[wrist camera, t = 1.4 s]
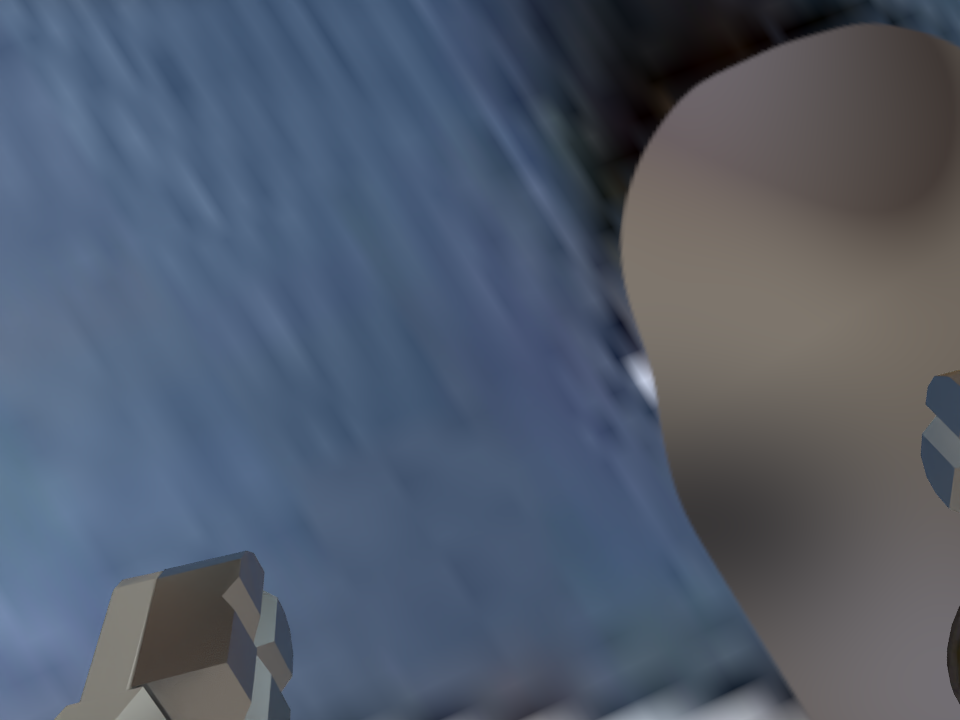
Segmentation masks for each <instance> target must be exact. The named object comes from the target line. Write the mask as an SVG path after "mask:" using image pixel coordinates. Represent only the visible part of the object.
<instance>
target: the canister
mask: <svg viewBox="0 0 960 720" xmlns="http://www.w3.org/2000/svg"><path fill="white" fill-rule="evenodd" d="M947 666H948V672H949V677H950V683H951V686H952V689H953V692H954V695H955V696H956V698H957V700H958V702H959V704H960V607H959V609H958V611H957V614H956V616H955V619H954V621H953V624H952V627H951V632H950V637H949V642H948V648H947Z"/></svg>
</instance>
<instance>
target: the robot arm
mask: <svg viewBox="0 0 960 720" xmlns="http://www.w3.org/2000/svg"><path fill="white" fill-rule="evenodd" d="M926 405H927V406H928V407H929V408H930V409H931V410H932V411H933V412H934V413H935V414H936V417H935V418H934V420H933V421H932V422H931V423H930V425H929V426H928V427H927V428H926V430H925V431H924V432H923V434H922V446H921V458H922V461H923V465H924V469H925V472H926V476H927V478H928V480H929V482H930V483H931V486H932V487H933V489H934V491H935V493H936V494H937V495H938V496H939V498H940V499H941V500H942V501H943V502H944V503H945V504H946V506H947V507H948V508H949V509H951V510H953V511H956V512H958V513H960V370H956V371H952V372H948V373H944V374H941V375H937V376H934V378H933V380H932V381H931V383H930V384H929V386H928V390H927V397H926ZM263 582H264V570H263V569H262V567H261V565H260V563H259V562H258V560H257V558H256V556H255V554H254V553H252V552H249V551H243V552H239V553H234V554H230V555H226V556H221V557H217V558H213V559H208V560H204V561H200V562H195V563H191V564H186V565H182V566H178V567H173V568H169V569H165V570H164V571H161V572H156V573H151V574H147V575H142V576H138V577H133V578H129V579H125V580H122V581H121V582H120V583H119V584H118V585H117V586H116V588H115V589H114V590H113V593H112V596H111V599H110V603H109V606H108V609H107V613H106V616H105V619H104V623H103V626H102V629H101V633H100V636H99V639H98V643H97V646H96V649H95V653H94V656H93V659H92V663H91V666H90V669H89V673H88V676H87V679H86V683H85V686H84V689H83V693H82V696H81V700H80V702H79V703H76V704H72V705H68V706H66V707H65V708H64V709H63V710H62V711H61V713H60V714H59V715H58V716H57V717H56V718H55V719H54V720H290V708H289V706H288V704H287V702H286V701H285V699H284V697H283V695H282V693H281V692H282V690H283V689H284V687H285V686H286V684H287V683H288V681H289V680H290V679H291V677H292V673H293V649H292V642H291V634H290V628H289V625H288V622H287V619H286V615H285V612H284V610H283V608H282V606H281V604H280V602H279V600H278V598H277V597H275V596H273V595H271V594H269V593H267V592H265V591H263Z"/></svg>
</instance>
